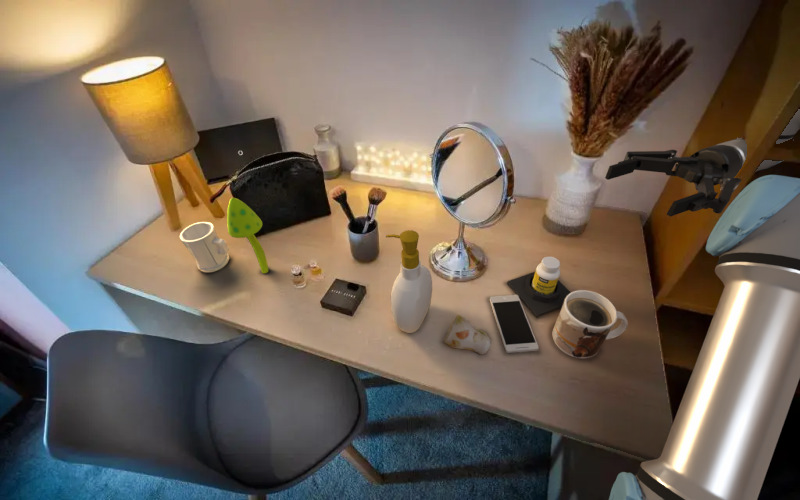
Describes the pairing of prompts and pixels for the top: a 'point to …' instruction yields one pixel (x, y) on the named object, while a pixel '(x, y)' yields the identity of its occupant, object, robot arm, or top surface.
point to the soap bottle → (410, 286)
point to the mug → (586, 324)
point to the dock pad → (532, 304)
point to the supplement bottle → (546, 276)
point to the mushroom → (246, 227)
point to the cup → (205, 246)
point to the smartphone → (513, 324)
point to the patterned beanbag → (467, 336)
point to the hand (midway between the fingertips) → (637, 189)
